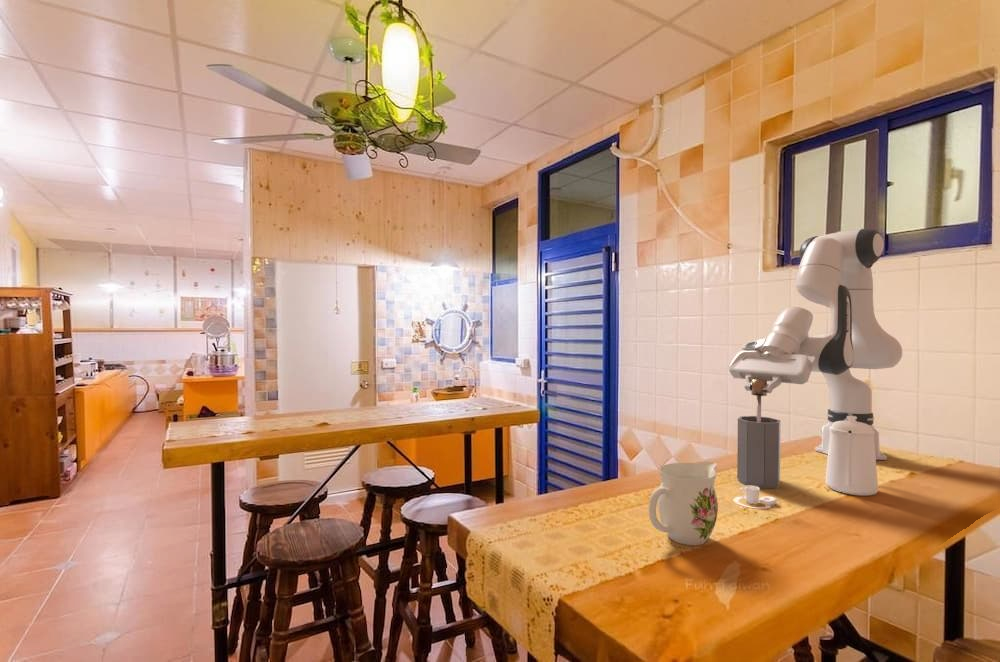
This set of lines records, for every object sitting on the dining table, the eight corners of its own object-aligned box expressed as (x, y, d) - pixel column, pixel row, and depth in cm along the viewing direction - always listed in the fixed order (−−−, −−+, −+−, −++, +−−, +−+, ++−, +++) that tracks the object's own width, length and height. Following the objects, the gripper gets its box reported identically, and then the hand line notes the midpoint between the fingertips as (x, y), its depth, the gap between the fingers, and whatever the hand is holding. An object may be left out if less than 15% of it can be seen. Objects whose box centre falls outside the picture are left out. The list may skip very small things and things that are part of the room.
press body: (743, 472, 139) (743, 413, 139) (782, 478, 134) (782, 417, 134) (735, 484, 129) (735, 420, 129) (777, 491, 123) (777, 424, 123)
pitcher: (628, 538, 96) (629, 468, 96) (691, 520, 105) (691, 456, 105) (673, 561, 86) (674, 483, 86) (738, 540, 95) (738, 469, 95)
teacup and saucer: (779, 504, 115) (779, 487, 115) (770, 514, 109) (770, 496, 109) (739, 496, 121) (739, 479, 121) (728, 504, 115) (728, 487, 115)
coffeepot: (821, 499, 118) (821, 421, 117) (828, 474, 137) (829, 407, 137) (878, 509, 111) (879, 426, 111) (877, 481, 131) (878, 411, 131)
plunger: (745, 463, 135) (746, 377, 135) (775, 468, 131) (776, 379, 131) (741, 470, 129) (741, 380, 129) (772, 474, 125) (773, 382, 125)
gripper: (822, 362, 127) (802, 403, 122) (746, 358, 144) (726, 394, 139) (814, 345, 124) (793, 386, 119) (738, 343, 142) (717, 379, 137)
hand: (757, 390), depth 129 cm, fingers closed on plunger, 4 cm apart
